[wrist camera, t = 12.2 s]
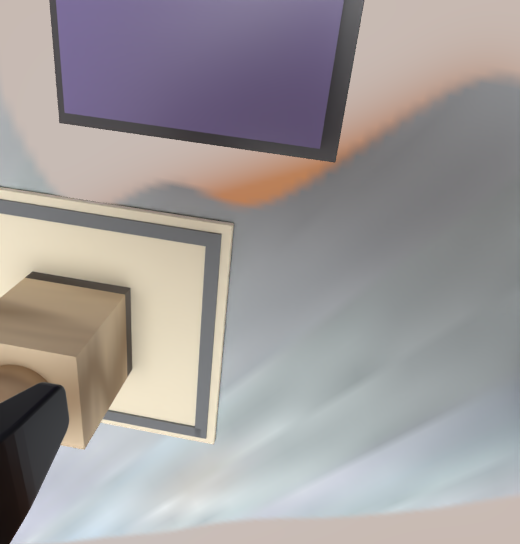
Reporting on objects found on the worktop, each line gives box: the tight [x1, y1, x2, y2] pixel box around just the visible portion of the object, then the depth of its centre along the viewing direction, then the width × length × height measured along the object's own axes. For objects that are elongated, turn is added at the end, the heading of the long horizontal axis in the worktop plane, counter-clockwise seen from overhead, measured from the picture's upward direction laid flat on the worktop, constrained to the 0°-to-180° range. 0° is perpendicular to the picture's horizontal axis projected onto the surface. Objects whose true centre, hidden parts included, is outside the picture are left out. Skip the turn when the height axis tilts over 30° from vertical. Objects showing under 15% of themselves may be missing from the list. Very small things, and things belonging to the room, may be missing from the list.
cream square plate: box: [0, 187, 234, 444], centre depth 23 cm, size 13×12×1 cm
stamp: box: [0, 271, 132, 449], centre depth 20 cm, size 4×4×6 cm
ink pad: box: [50, 0, 364, 162], centre depth 16 cm, size 10×8×2 cm
